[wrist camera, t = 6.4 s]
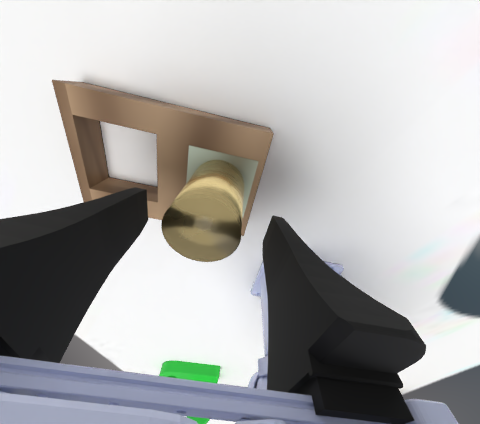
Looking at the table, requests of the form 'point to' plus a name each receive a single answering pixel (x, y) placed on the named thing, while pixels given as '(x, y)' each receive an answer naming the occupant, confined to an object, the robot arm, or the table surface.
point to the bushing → (207, 213)
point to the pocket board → (168, 143)
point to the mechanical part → (191, 375)
